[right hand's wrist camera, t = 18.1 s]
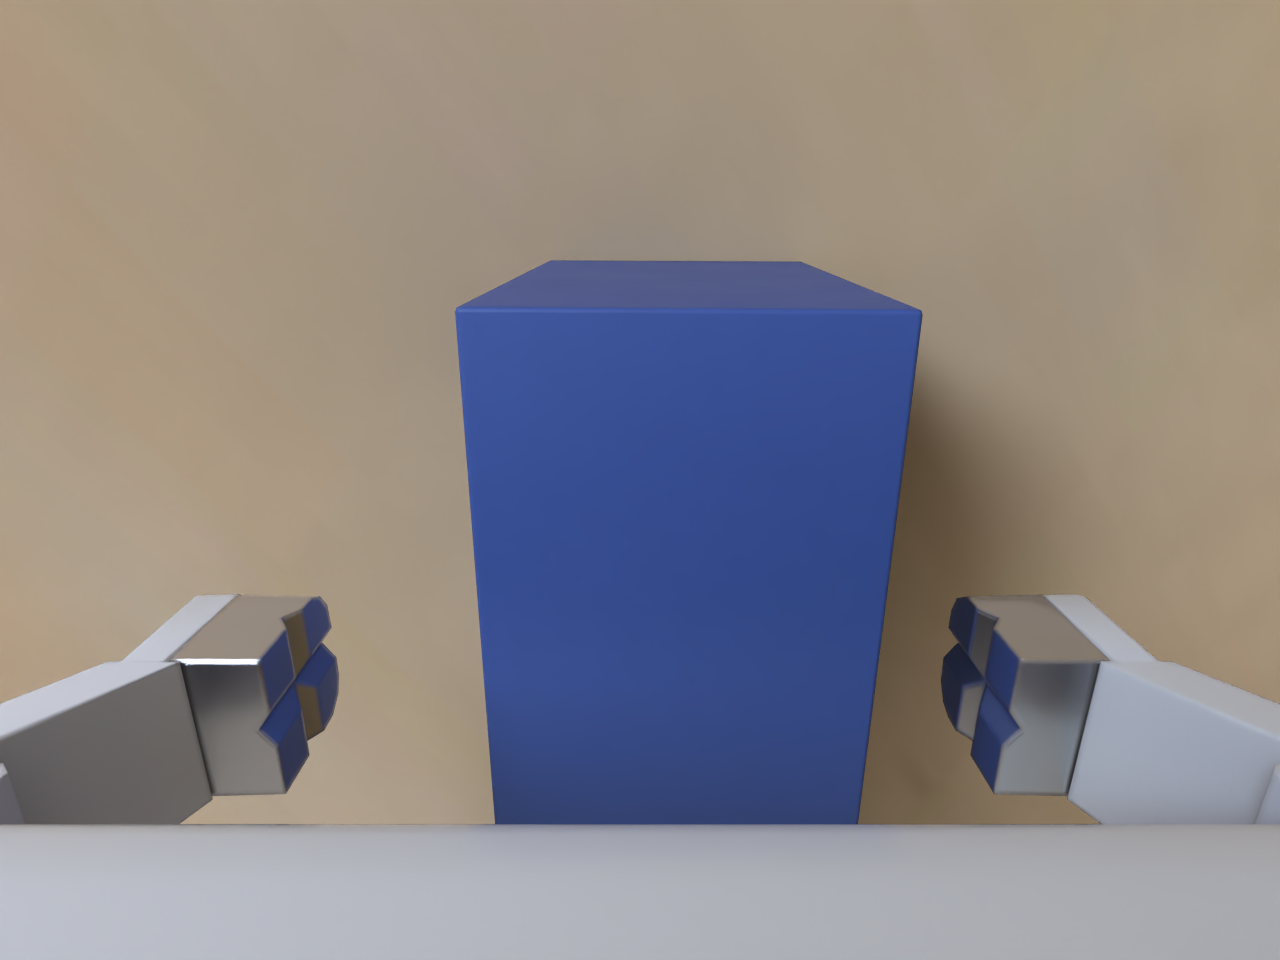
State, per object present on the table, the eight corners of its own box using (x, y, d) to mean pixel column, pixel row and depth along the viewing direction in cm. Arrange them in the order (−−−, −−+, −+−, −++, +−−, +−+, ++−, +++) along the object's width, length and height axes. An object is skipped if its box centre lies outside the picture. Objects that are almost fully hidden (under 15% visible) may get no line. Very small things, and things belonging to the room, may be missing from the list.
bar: (548, 260, 16) (453, 306, 9) (802, 261, 16) (924, 309, 9) (575, 998, 24) (536, 1359, 16) (748, 1003, 24) (789, 1368, 16)
